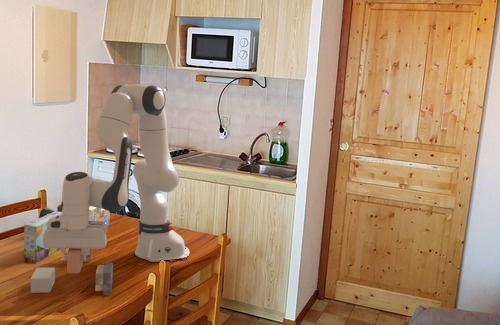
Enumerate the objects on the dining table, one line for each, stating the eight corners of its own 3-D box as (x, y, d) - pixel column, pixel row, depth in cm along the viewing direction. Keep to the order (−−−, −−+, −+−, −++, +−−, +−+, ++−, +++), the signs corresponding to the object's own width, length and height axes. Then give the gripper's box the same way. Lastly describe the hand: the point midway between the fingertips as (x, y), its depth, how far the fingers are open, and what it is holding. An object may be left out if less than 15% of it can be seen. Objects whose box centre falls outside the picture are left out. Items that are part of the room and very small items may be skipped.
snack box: (36, 264, 197) (36, 226, 194) (23, 262, 198) (22, 224, 195) (66, 246, 217) (66, 211, 214) (54, 244, 218) (54, 210, 215)
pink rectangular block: (82, 264, 180) (83, 245, 179) (79, 273, 173) (79, 253, 171) (70, 264, 180) (70, 244, 178) (66, 273, 172) (67, 253, 171)
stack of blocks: (97, 223, 250) (98, 199, 247) (109, 225, 249) (110, 200, 246) (74, 237, 229) (74, 210, 227) (87, 239, 228) (87, 212, 226)
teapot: (76, 225, 245) (76, 194, 242) (90, 231, 238) (90, 199, 235) (33, 234, 228) (32, 201, 226) (46, 241, 221) (46, 207, 218)
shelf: (112, 282, 185) (113, 262, 183) (110, 295, 175) (110, 273, 174) (35, 283, 180) (35, 262, 178) (28, 296, 170) (28, 274, 169)
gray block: (54, 281, 180) (54, 267, 180) (49, 292, 172) (49, 278, 171) (36, 281, 179) (36, 267, 178) (30, 292, 171) (30, 278, 170)
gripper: (108, 218, 178) (107, 256, 181) (45, 217, 174) (45, 256, 177) (106, 224, 172) (105, 263, 175) (42, 223, 168) (41, 263, 171)
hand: (75, 259), depth 176 cm, fingers closed on pink rectangular block, 4 cm apart
